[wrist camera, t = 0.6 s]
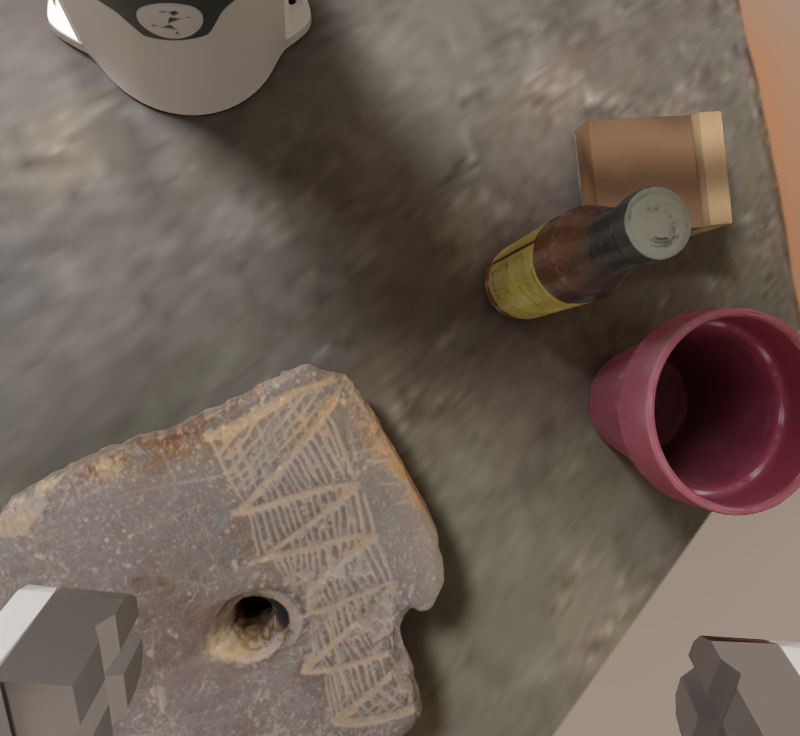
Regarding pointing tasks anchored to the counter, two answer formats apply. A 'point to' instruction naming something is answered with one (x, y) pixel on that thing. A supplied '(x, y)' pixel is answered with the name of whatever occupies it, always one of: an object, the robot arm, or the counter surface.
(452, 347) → the counter surface
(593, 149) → the roller board
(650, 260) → the sauce bottle
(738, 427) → the plant pot
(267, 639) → the stone slab
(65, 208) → the counter surface
